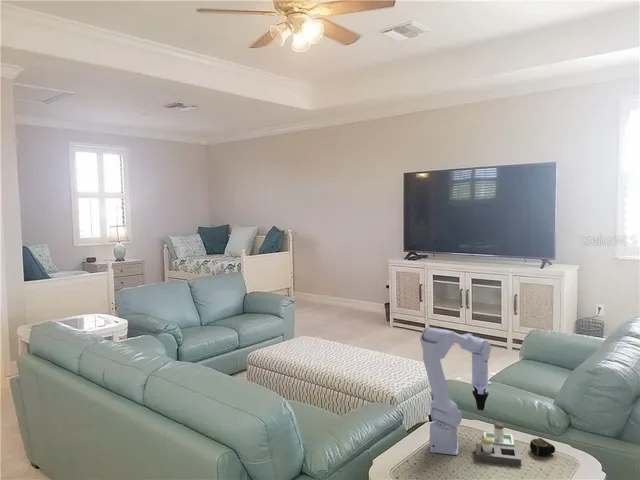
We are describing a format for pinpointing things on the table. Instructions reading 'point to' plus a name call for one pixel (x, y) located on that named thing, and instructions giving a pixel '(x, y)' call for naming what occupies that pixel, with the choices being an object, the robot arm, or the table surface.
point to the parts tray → (507, 442)
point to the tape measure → (541, 447)
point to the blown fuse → (498, 432)
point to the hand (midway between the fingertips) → (480, 405)
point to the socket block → (499, 455)
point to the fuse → (487, 445)
